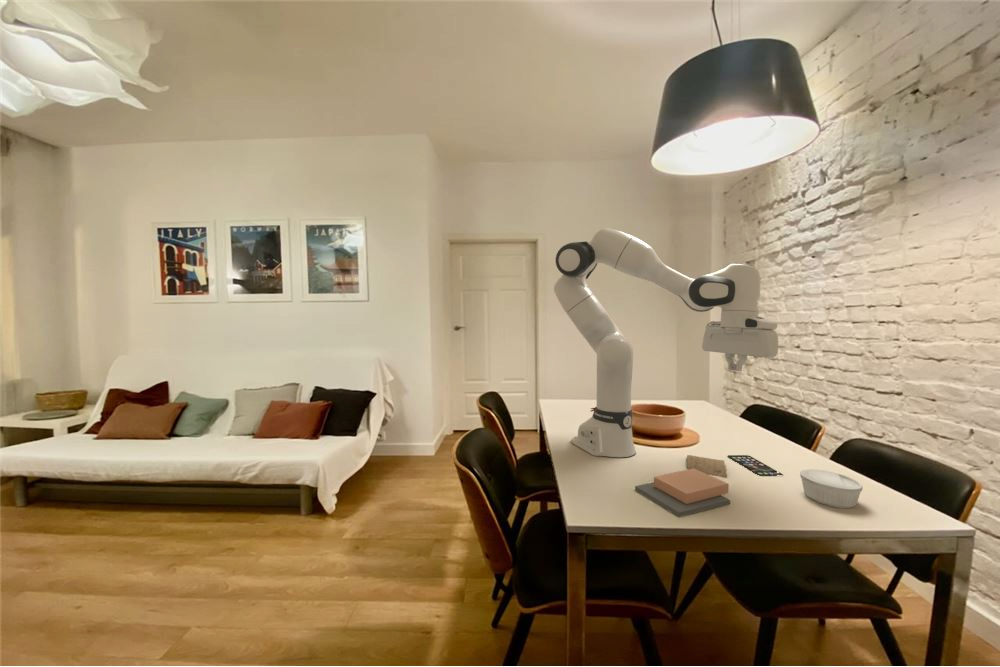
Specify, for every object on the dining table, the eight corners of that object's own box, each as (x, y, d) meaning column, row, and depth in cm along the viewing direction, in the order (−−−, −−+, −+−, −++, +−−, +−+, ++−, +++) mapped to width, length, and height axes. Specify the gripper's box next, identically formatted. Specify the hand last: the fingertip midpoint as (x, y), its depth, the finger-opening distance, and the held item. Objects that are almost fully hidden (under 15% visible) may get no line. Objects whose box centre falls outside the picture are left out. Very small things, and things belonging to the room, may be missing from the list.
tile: (693, 477, 100) (653, 486, 95) (693, 468, 100) (653, 476, 95) (728, 494, 91) (686, 504, 86) (728, 483, 91) (686, 493, 86)
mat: (635, 489, 95) (635, 486, 95) (681, 479, 101) (681, 476, 101) (679, 516, 82) (679, 512, 82) (729, 503, 88) (730, 499, 88)
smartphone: (758, 475, 104) (725, 455, 118) (758, 477, 104) (725, 457, 119) (785, 475, 104) (749, 455, 119) (785, 477, 104) (748, 457, 119)
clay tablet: (727, 481, 102) (728, 471, 102) (686, 474, 106) (687, 465, 106) (723, 463, 115) (723, 454, 114) (686, 457, 119) (686, 449, 119)
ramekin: (875, 511, 85) (876, 488, 84) (826, 511, 85) (826, 488, 85) (832, 489, 96) (833, 469, 96) (788, 488, 96) (789, 468, 96)
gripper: (699, 320, 113) (695, 365, 113) (767, 321, 94) (763, 375, 94) (714, 321, 115) (710, 365, 116) (784, 323, 96) (779, 376, 97)
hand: (734, 370), depth 105 cm, fingers closed
